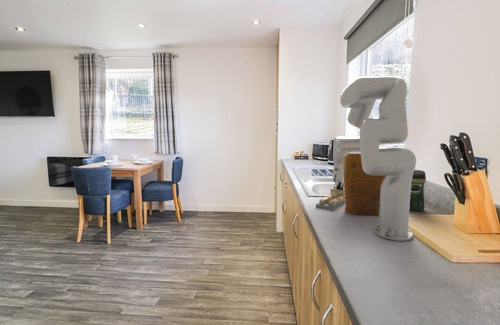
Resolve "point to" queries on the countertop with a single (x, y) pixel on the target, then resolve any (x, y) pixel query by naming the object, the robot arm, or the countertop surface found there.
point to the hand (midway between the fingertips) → (339, 194)
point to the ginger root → (334, 200)
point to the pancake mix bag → (360, 188)
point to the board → (330, 205)
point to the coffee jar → (417, 191)
